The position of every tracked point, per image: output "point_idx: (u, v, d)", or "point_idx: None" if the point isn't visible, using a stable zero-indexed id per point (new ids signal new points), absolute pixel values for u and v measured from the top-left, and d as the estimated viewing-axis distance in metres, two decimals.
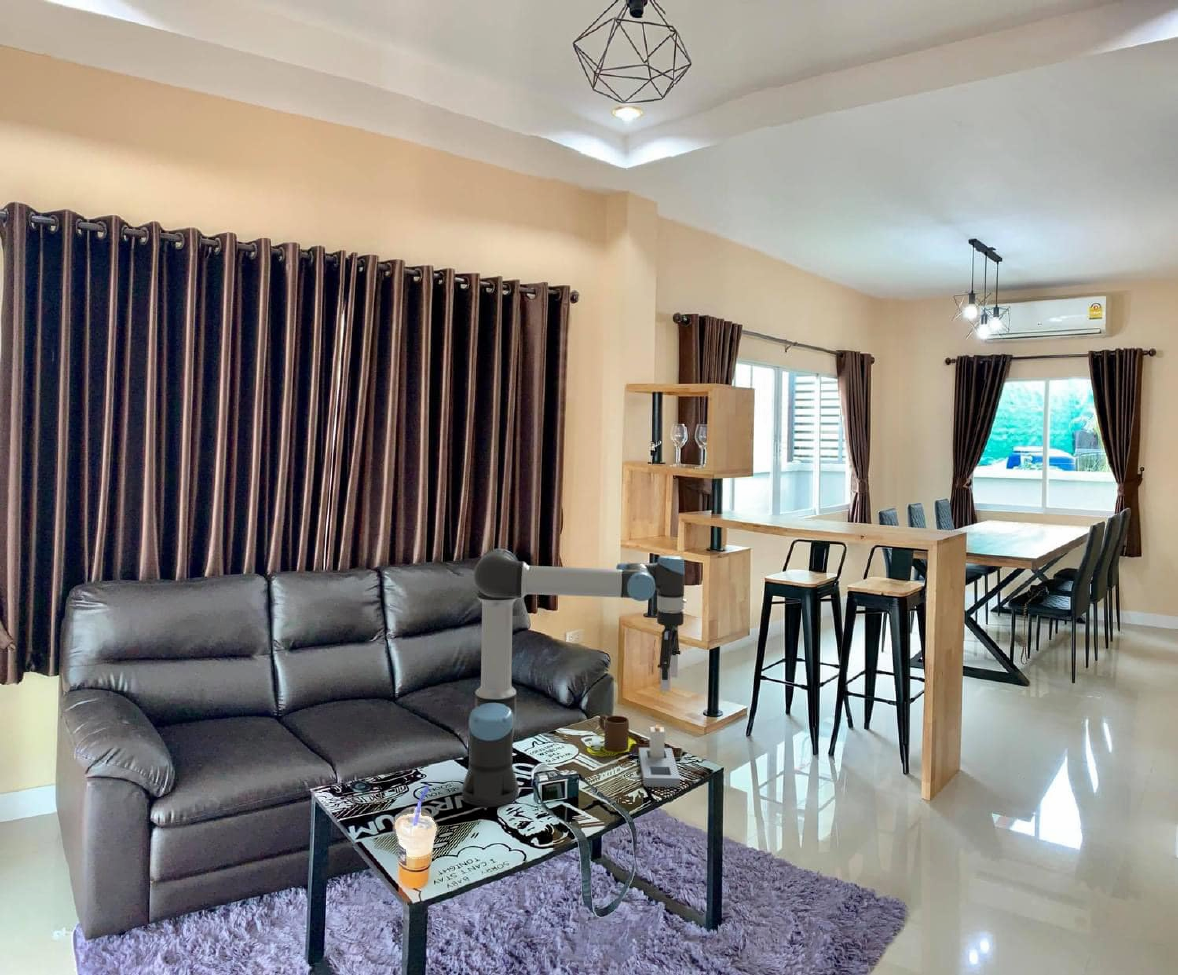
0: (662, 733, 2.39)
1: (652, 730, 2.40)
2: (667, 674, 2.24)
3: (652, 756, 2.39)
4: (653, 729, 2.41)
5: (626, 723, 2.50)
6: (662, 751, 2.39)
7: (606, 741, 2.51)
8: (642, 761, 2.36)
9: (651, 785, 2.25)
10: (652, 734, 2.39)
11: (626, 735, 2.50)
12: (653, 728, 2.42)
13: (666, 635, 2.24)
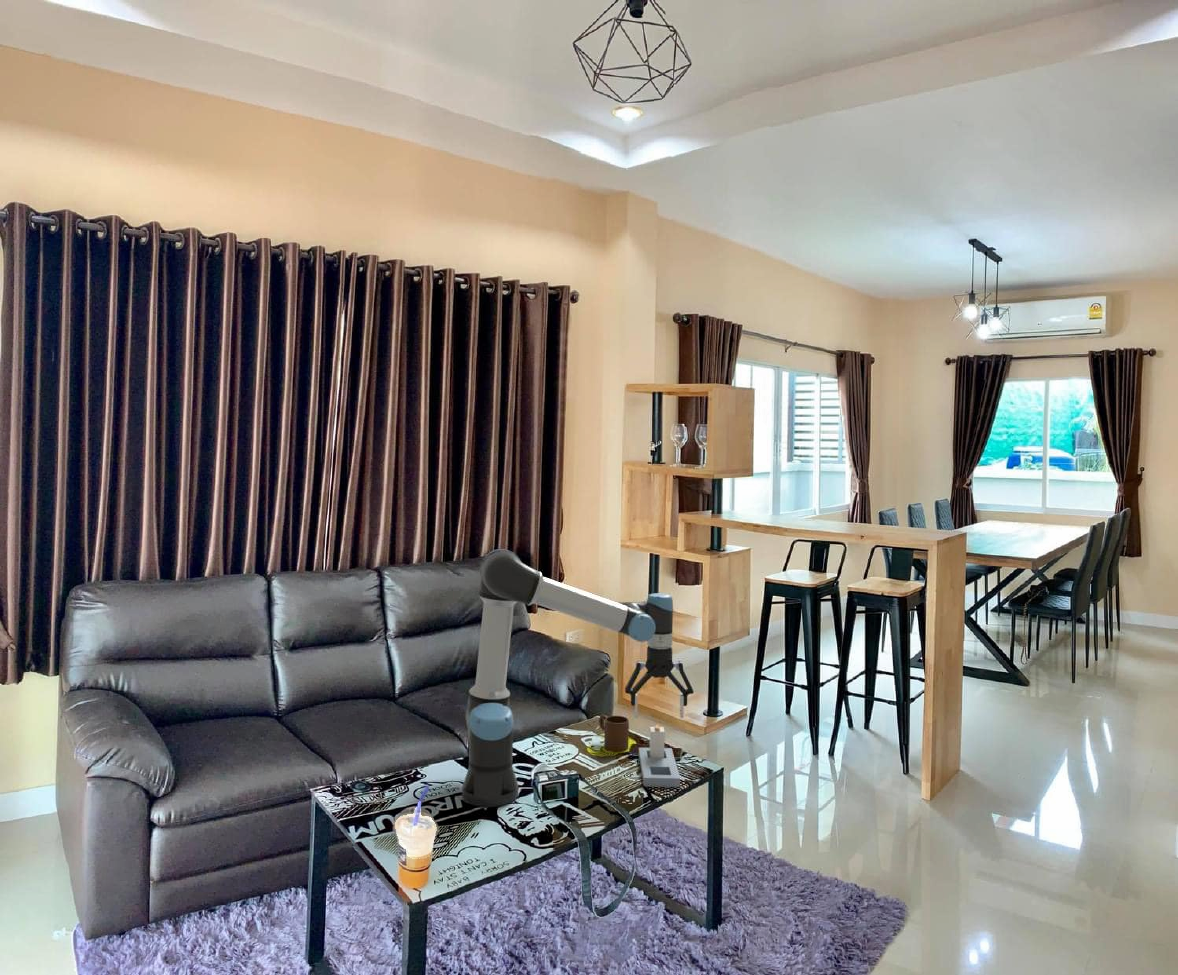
0: (662, 733, 2.39)
1: (652, 730, 2.40)
2: (633, 700, 2.40)
3: (652, 756, 2.39)
4: (653, 729, 2.41)
5: (626, 723, 2.50)
6: (662, 751, 2.39)
7: (606, 741, 2.51)
8: (642, 761, 2.36)
9: (651, 785, 2.25)
10: (652, 734, 2.39)
11: (626, 735, 2.50)
12: (653, 728, 2.42)
13: (636, 664, 2.40)
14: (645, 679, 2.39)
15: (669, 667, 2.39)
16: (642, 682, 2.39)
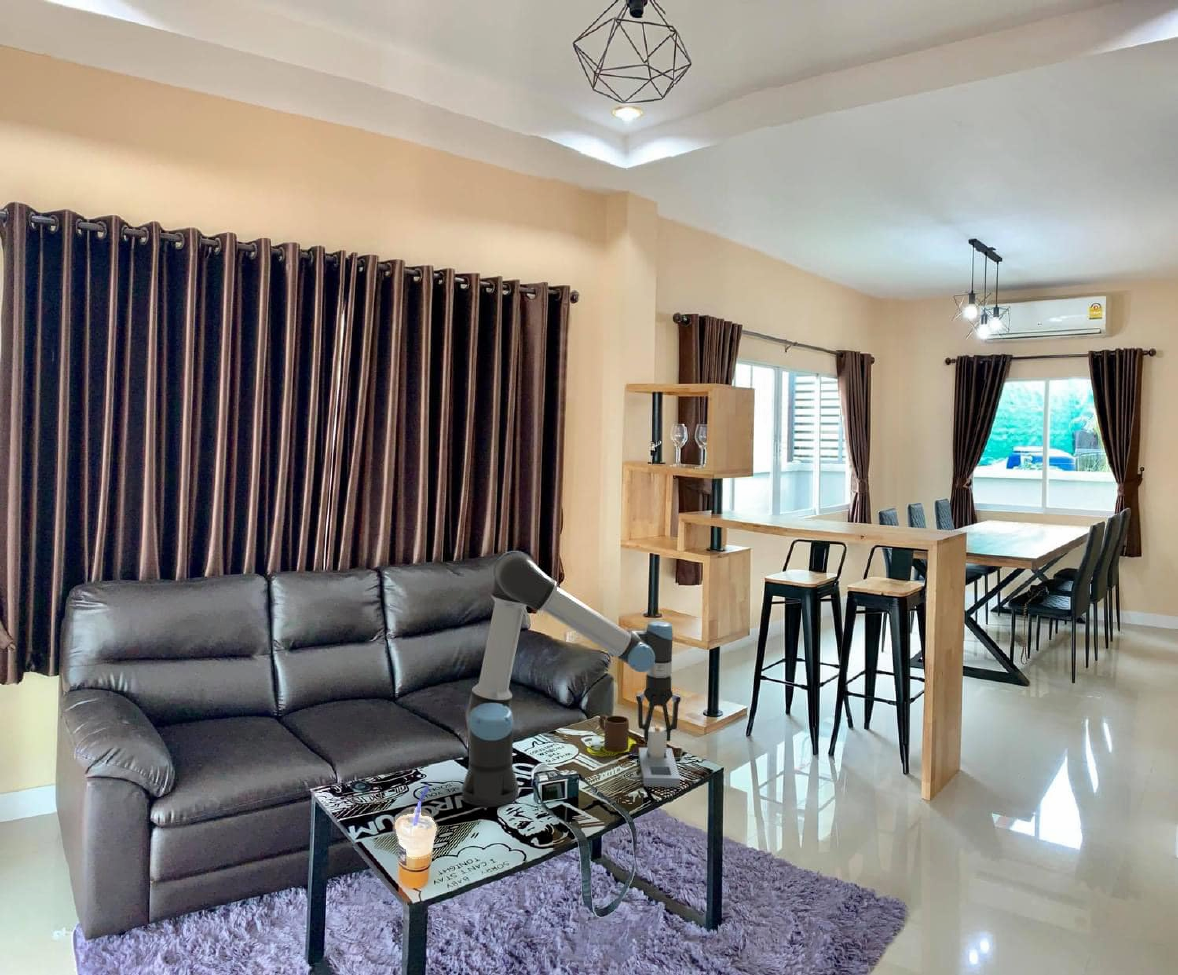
0: (662, 733, 2.39)
1: (652, 730, 2.40)
2: (646, 736, 2.40)
3: (652, 756, 2.39)
4: (653, 729, 2.41)
5: (626, 723, 2.50)
6: (662, 751, 2.39)
7: (606, 741, 2.51)
8: (642, 761, 2.36)
9: (651, 785, 2.25)
10: (652, 734, 2.39)
11: (626, 735, 2.50)
12: (653, 728, 2.42)
13: None
14: (650, 711, 2.39)
15: (667, 695, 2.39)
16: (649, 715, 2.40)
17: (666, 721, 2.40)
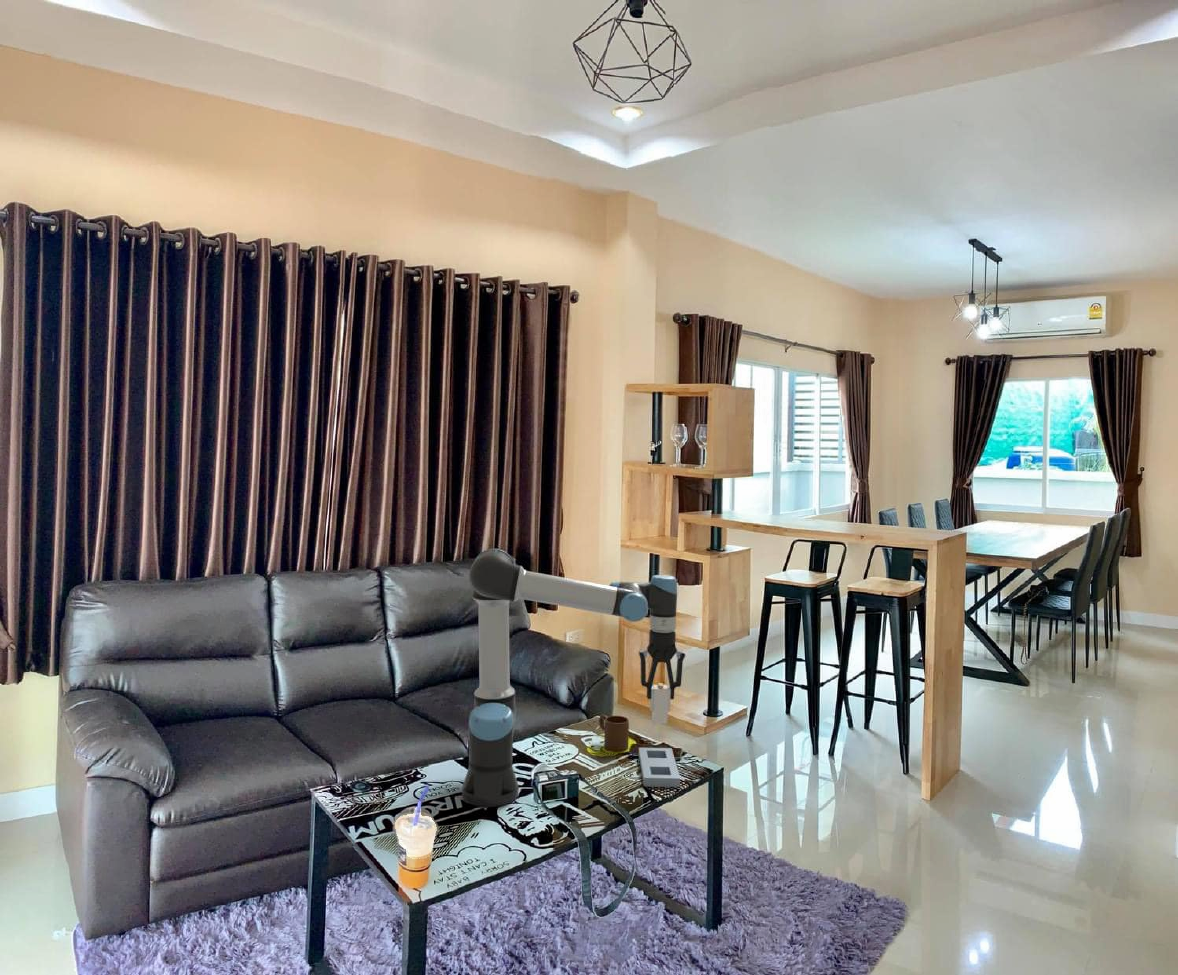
0: (666, 690, 2.30)
1: (655, 688, 2.31)
2: (649, 693, 2.31)
3: (655, 714, 2.30)
4: (656, 687, 2.32)
5: (626, 723, 2.50)
6: (666, 709, 2.31)
7: (606, 741, 2.51)
8: (642, 761, 2.36)
9: (651, 785, 2.25)
10: (655, 692, 2.30)
11: (626, 735, 2.50)
12: (656, 686, 2.33)
13: None
14: (654, 667, 2.30)
15: (671, 651, 2.30)
16: (652, 671, 2.30)
17: (670, 678, 2.31)
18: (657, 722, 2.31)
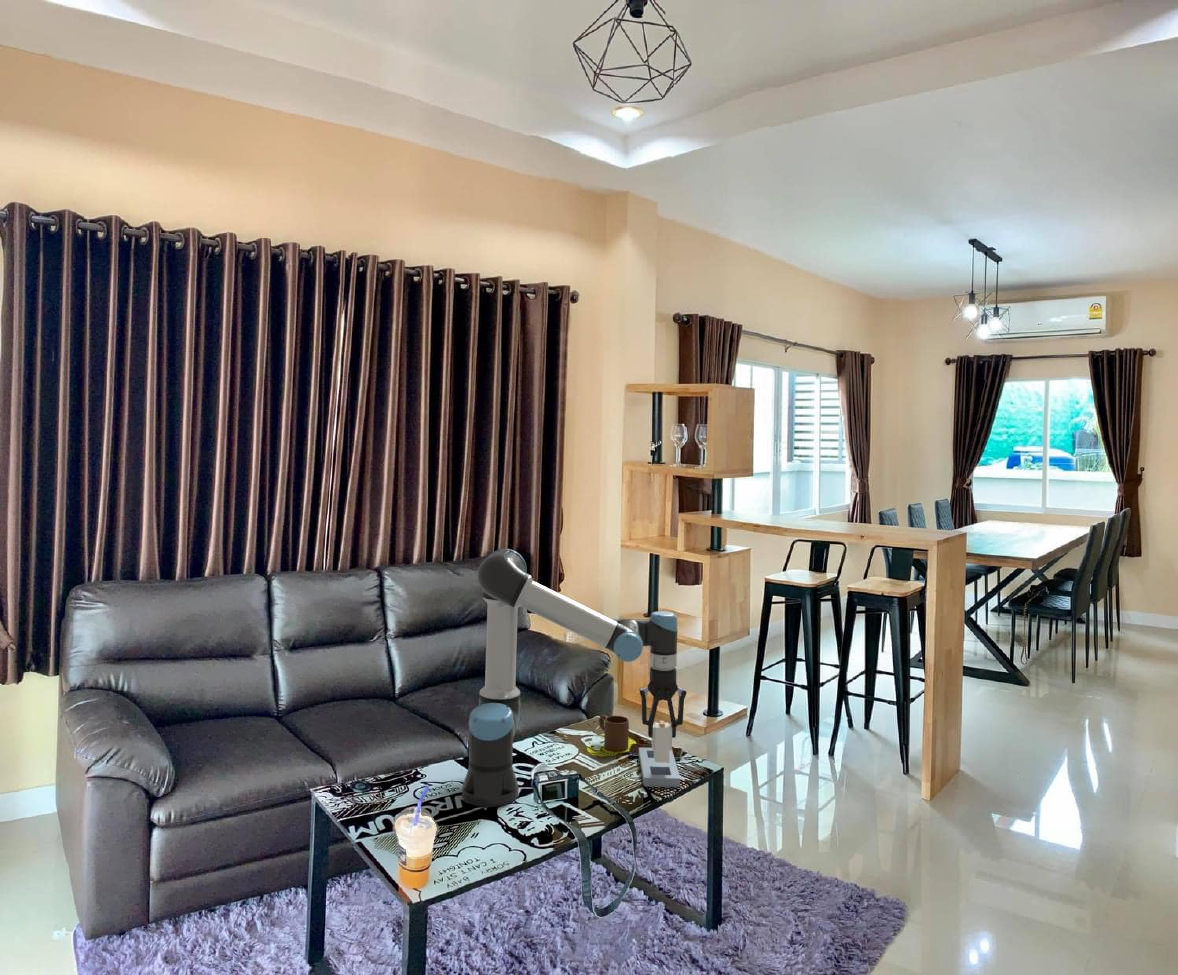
0: (667, 729, 2.27)
1: (657, 726, 2.28)
2: (650, 732, 2.28)
3: (657, 753, 2.27)
4: (658, 725, 2.29)
5: (626, 723, 2.50)
6: (667, 748, 2.27)
7: (606, 741, 2.51)
8: (642, 761, 2.36)
9: (651, 785, 2.25)
10: (657, 730, 2.27)
11: (626, 735, 2.50)
12: (658, 724, 2.29)
13: None
14: (655, 705, 2.27)
15: (672, 689, 2.27)
16: (653, 710, 2.27)
17: (671, 716, 2.27)
18: (659, 761, 2.27)
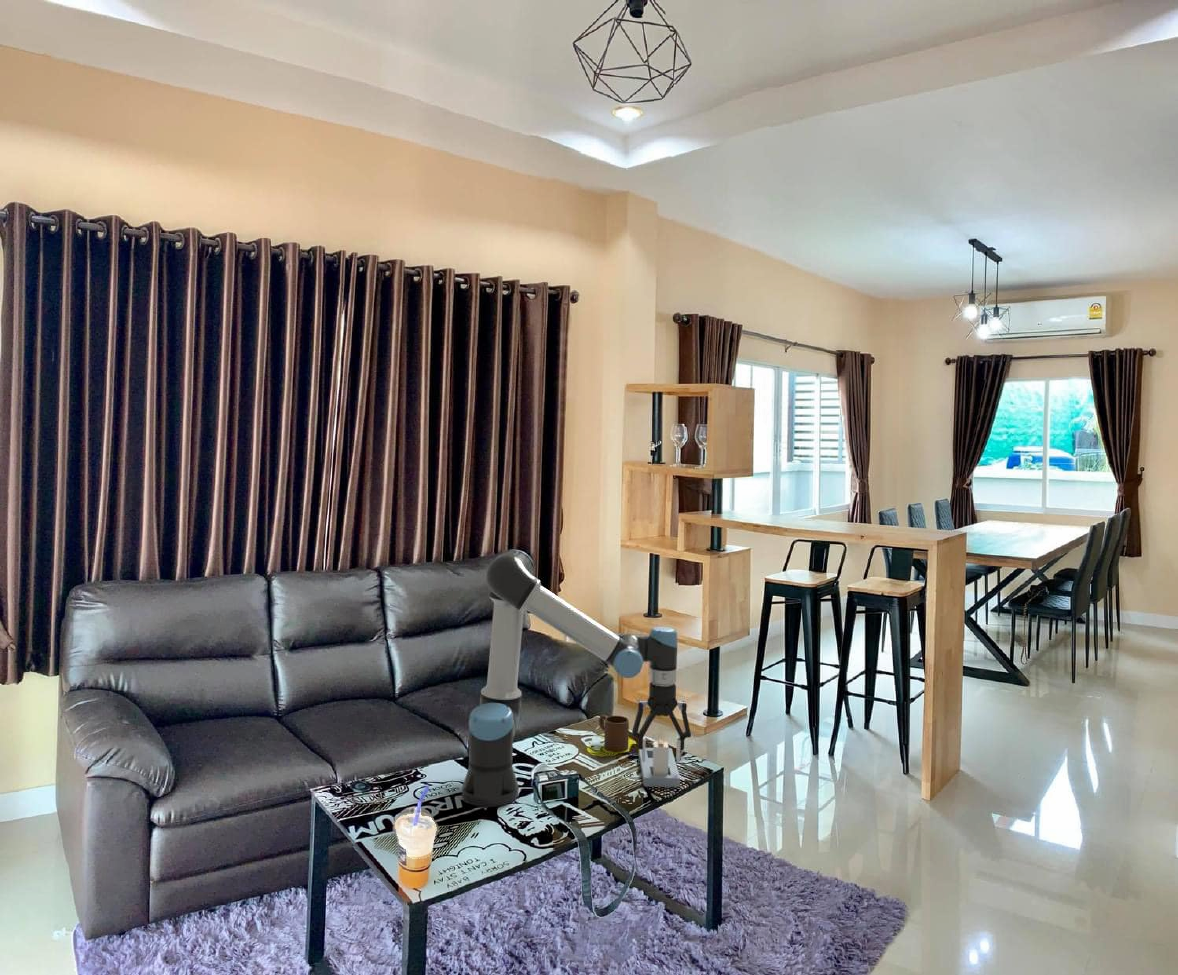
0: (666, 749, 2.27)
1: (655, 745, 2.28)
2: (640, 744, 2.28)
3: (655, 773, 2.27)
4: (656, 744, 2.29)
5: (626, 723, 2.50)
6: (666, 767, 2.27)
7: (606, 741, 2.51)
8: None
9: (651, 785, 2.25)
10: (655, 750, 2.27)
11: (626, 735, 2.50)
12: (656, 743, 2.30)
13: (638, 704, 2.28)
14: (650, 719, 2.27)
15: (672, 705, 2.27)
16: (647, 723, 2.27)
17: (677, 730, 2.28)
18: None
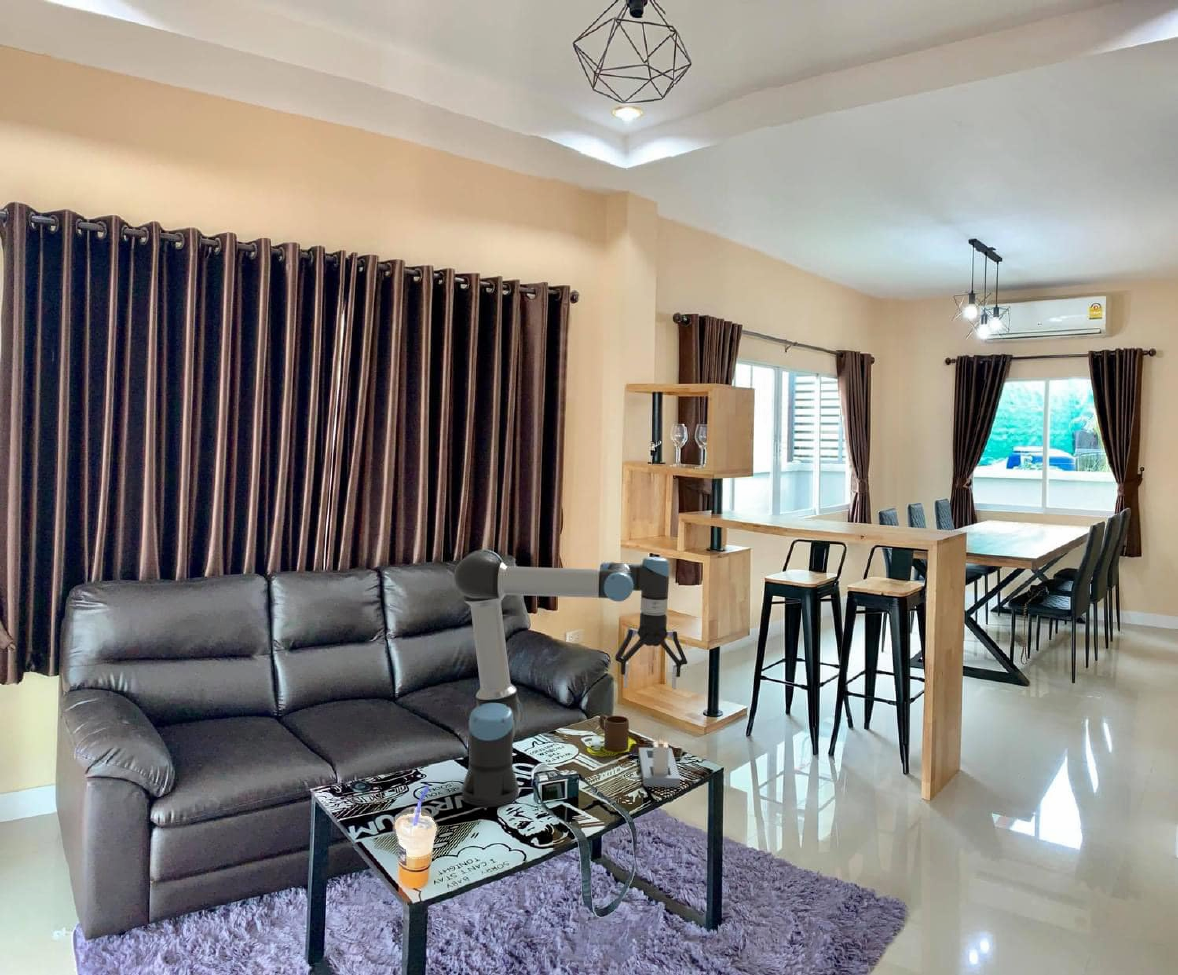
0: (666, 749, 2.27)
1: (655, 745, 2.28)
2: (623, 669, 2.27)
3: (655, 773, 2.27)
4: (656, 744, 2.29)
5: (626, 723, 2.50)
6: (666, 767, 2.27)
7: (606, 741, 2.51)
8: (642, 761, 2.36)
9: (651, 785, 2.25)
10: (655, 750, 2.27)
11: (626, 735, 2.50)
12: (656, 743, 2.30)
13: (628, 631, 2.27)
14: (637, 647, 2.26)
15: (663, 635, 2.26)
16: (633, 650, 2.26)
17: (672, 657, 2.26)
18: None
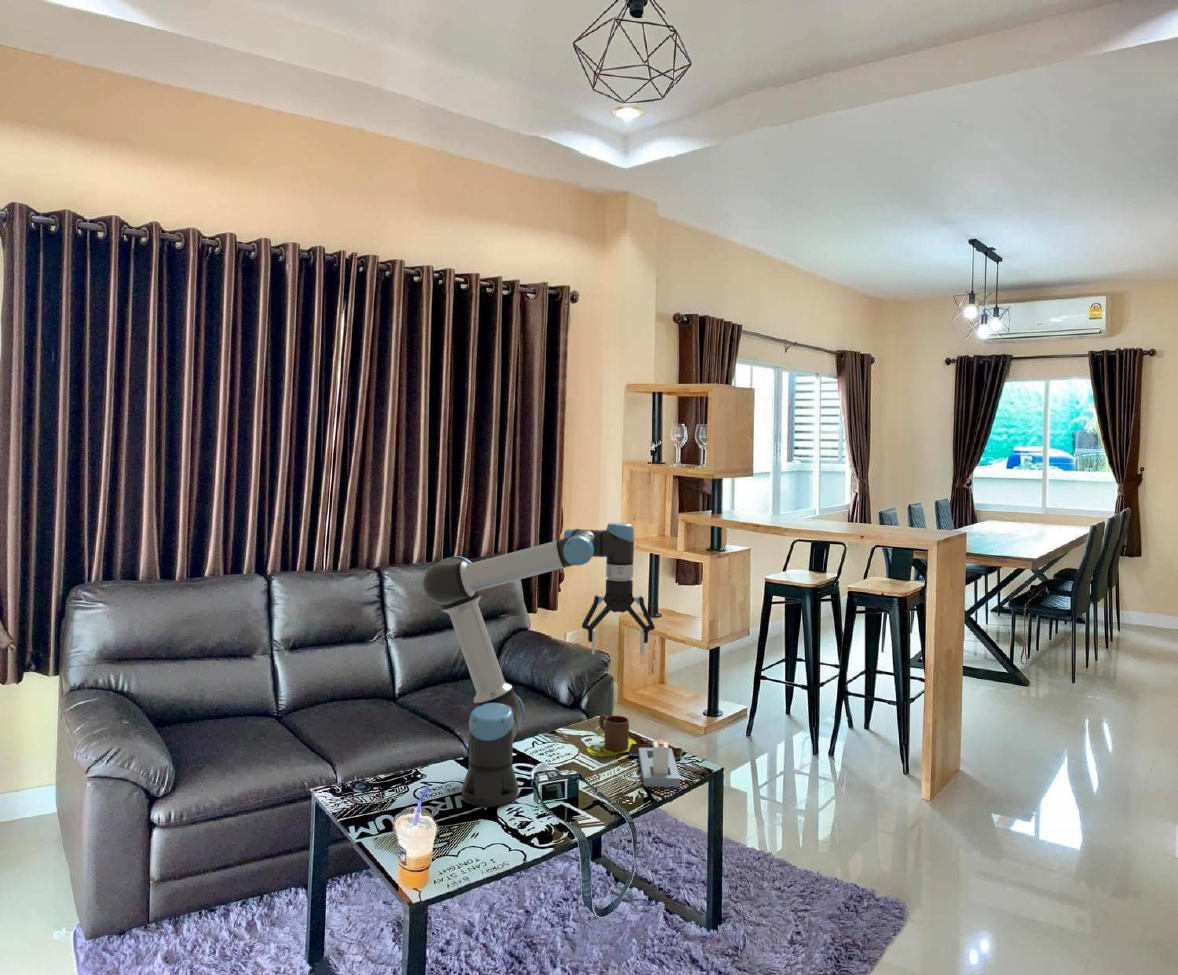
0: (666, 749, 2.27)
1: (655, 745, 2.28)
2: (590, 636, 2.25)
3: (655, 773, 2.27)
4: (656, 744, 2.29)
5: (626, 723, 2.50)
6: (666, 767, 2.27)
7: (606, 741, 2.51)
8: (642, 761, 2.36)
9: (651, 785, 2.25)
10: (655, 750, 2.27)
11: (626, 735, 2.50)
12: (656, 743, 2.30)
13: (594, 598, 2.25)
14: (603, 613, 2.24)
15: (629, 601, 2.24)
16: (600, 617, 2.25)
17: (639, 623, 2.25)
18: None
